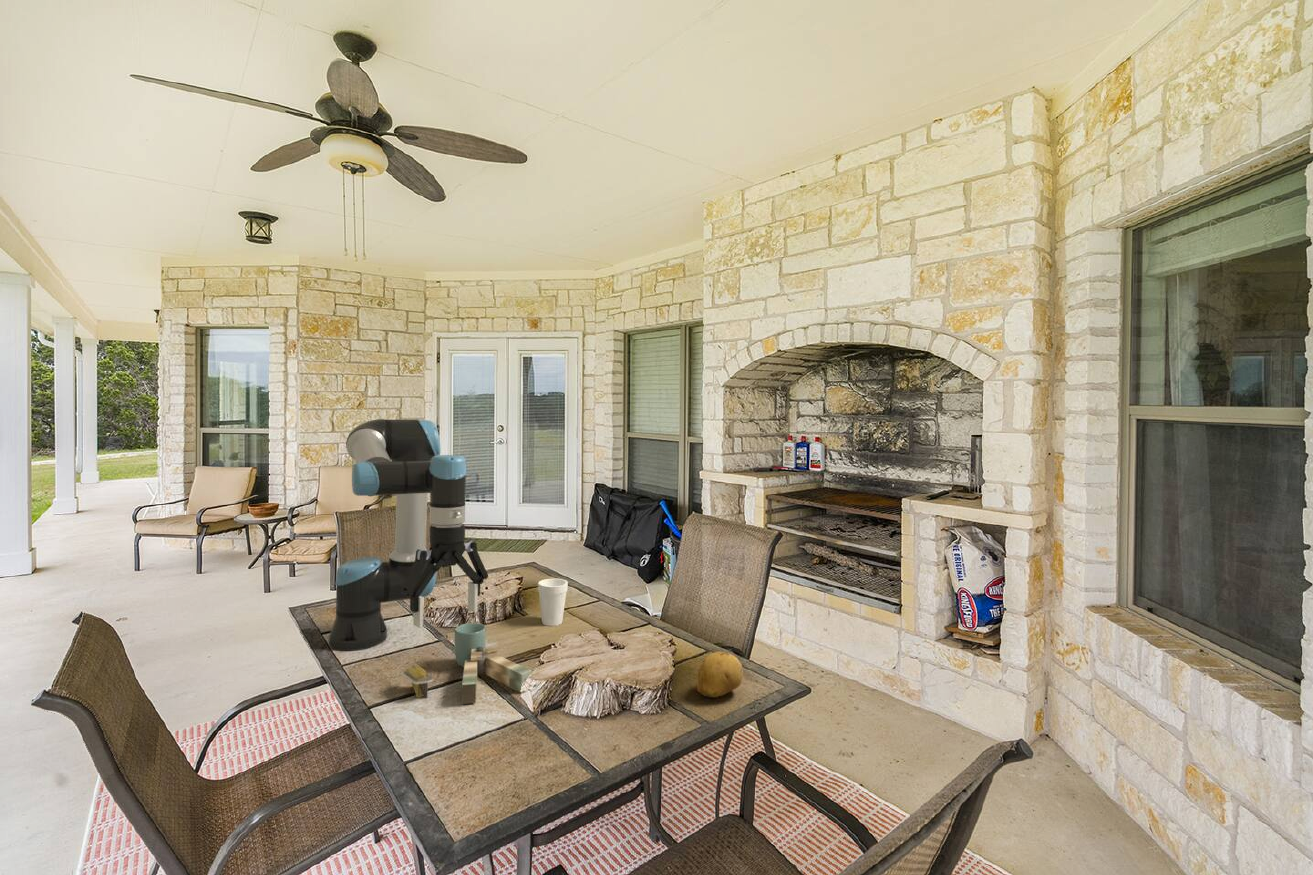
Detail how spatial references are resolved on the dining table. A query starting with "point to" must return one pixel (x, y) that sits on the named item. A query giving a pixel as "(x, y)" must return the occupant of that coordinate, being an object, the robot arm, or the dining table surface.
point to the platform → (418, 680)
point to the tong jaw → (471, 676)
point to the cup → (468, 640)
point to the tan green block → (502, 670)
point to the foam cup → (552, 600)
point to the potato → (719, 674)
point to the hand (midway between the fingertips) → (446, 618)
